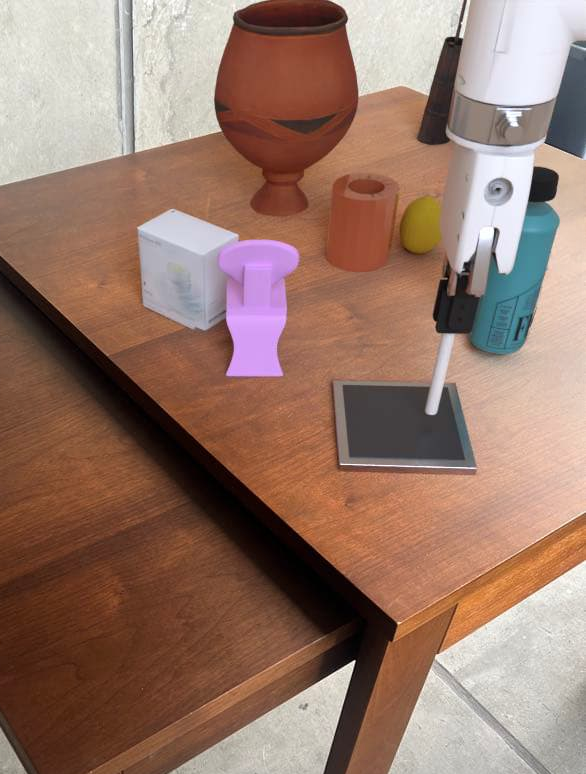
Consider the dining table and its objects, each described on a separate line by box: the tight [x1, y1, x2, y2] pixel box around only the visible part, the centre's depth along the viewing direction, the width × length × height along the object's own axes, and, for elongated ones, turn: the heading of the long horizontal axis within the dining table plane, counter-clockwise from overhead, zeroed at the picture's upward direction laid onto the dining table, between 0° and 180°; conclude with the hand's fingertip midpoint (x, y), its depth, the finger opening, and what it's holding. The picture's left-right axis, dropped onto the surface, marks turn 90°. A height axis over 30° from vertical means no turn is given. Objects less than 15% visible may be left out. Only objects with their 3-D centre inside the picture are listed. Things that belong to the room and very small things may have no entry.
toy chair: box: [218, 239, 300, 377], centre depth 93 cm, size 8×9×15 cm
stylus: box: [425, 272, 469, 415], centre depth 81 cm, size 1×1×15 cm
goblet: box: [213, 0, 359, 218], centre depth 116 cm, size 19×19×25 cm
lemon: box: [399, 194, 442, 255], centre depth 111 cm, size 6×6×8 cm
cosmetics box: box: [136, 208, 240, 331], centre depth 101 cm, size 10×6×10 cm, turn 47°
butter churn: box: [417, 0, 468, 145], centre depth 130 cm, size 9×10×28 cm
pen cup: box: [325, 172, 401, 273], centre depth 109 cm, size 8×8×10 cm
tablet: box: [331, 379, 478, 476], centre depth 88 cm, size 13×14×1 cm
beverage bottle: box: [468, 165, 561, 355], centre depth 91 cm, size 6×7×20 cm
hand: (451, 325), depth 79 cm, fingers closed on stylus, 1 cm apart
